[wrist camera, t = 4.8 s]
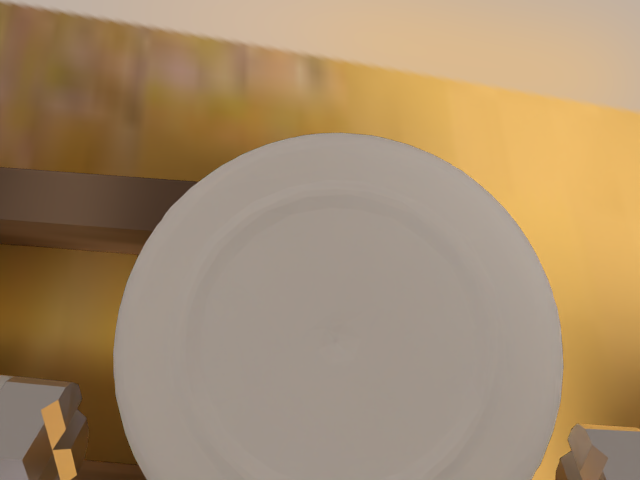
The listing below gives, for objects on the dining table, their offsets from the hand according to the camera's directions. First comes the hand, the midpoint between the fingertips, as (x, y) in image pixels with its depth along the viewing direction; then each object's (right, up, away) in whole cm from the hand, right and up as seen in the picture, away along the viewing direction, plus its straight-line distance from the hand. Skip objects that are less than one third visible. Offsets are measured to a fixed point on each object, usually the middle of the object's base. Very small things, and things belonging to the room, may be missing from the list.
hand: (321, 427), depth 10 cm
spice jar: (0, -1, +9) cm, 9 cm away
